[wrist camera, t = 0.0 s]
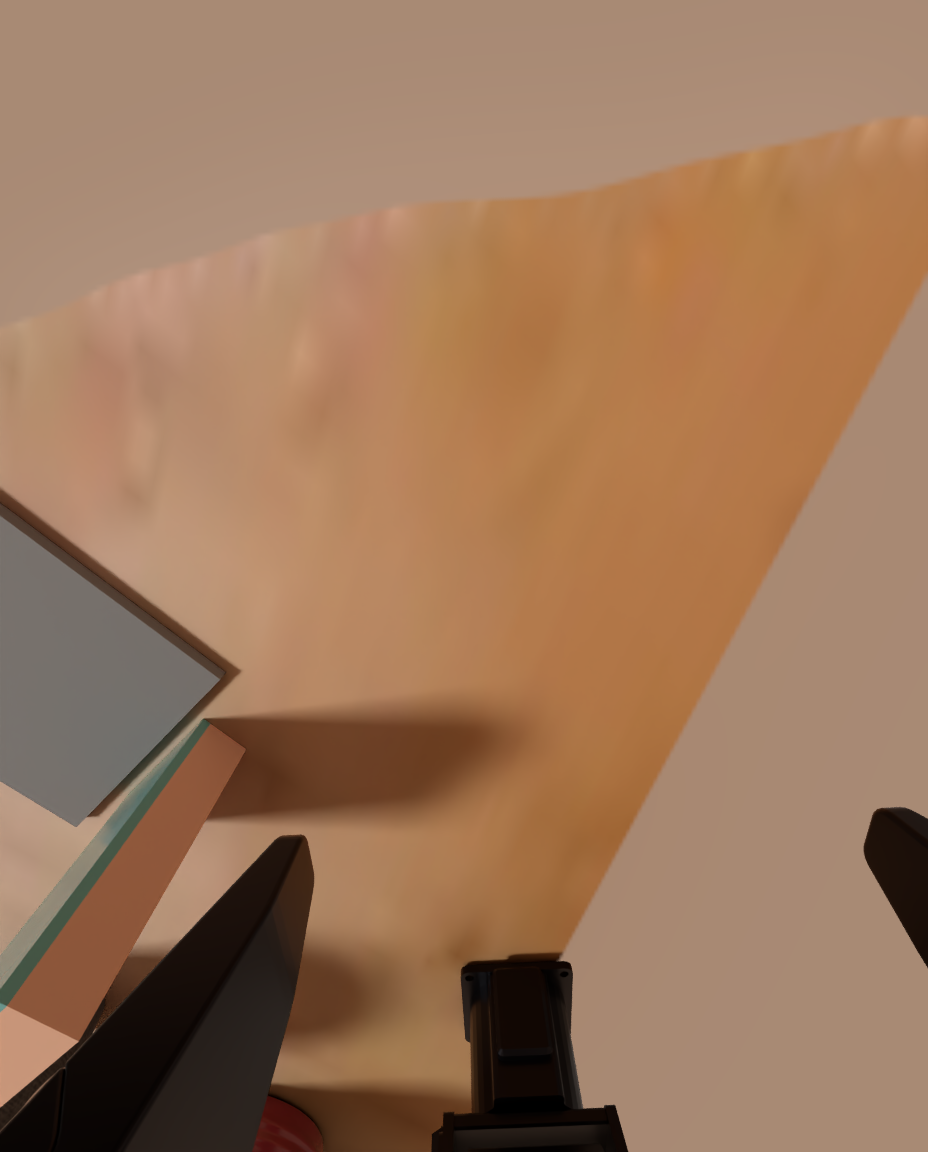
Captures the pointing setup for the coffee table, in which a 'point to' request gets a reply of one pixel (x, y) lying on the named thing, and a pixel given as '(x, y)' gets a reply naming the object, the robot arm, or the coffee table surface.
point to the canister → (286, 1130)
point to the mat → (81, 677)
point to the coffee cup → (45, 1074)
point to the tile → (104, 907)
